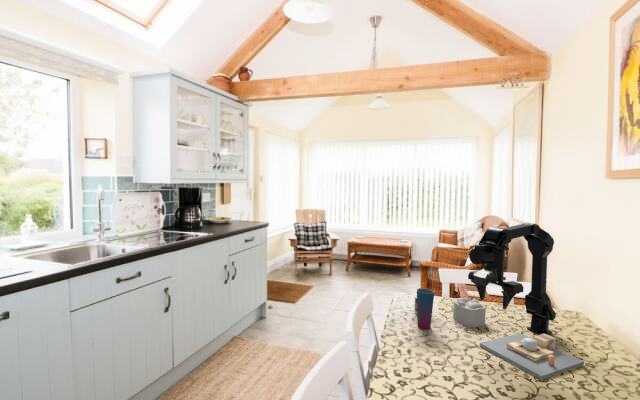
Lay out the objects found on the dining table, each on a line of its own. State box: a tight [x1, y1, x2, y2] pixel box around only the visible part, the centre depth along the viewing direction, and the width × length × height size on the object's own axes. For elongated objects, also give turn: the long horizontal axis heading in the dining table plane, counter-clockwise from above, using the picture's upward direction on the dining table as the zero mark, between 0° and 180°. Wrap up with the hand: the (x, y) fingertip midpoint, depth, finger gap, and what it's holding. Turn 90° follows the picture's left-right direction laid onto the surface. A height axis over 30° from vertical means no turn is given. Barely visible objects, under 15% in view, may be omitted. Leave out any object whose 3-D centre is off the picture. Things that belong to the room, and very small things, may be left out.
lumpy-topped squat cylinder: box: [452, 297, 487, 328], centre depth 144 cm, size 10×13×9 cm
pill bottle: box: [413, 294, 417, 315], centre depth 150 cm, size 6×6×10 cm
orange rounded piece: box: [548, 355, 555, 367], centre depth 107 cm, size 2×2×3 cm
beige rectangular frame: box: [506, 334, 557, 361], centre depth 116 cm, size 16×10×4 cm, turn 114°
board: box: [479, 332, 585, 381], centre depth 115 cm, size 22×22×5 cm
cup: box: [416, 287, 435, 331], centre depth 135 cm, size 7×7×15 cm
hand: (492, 304), depth 122 cm, fingers open, 9 cm apart
